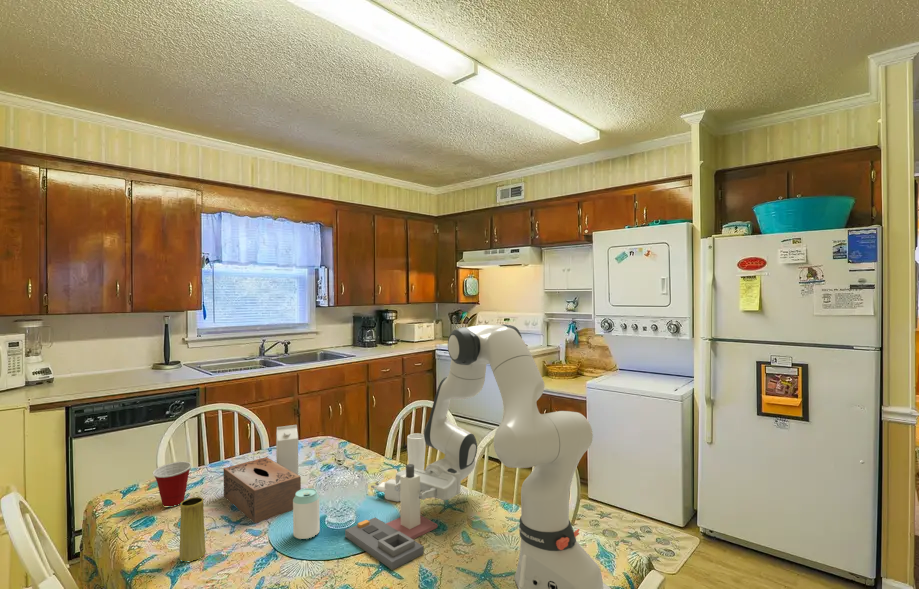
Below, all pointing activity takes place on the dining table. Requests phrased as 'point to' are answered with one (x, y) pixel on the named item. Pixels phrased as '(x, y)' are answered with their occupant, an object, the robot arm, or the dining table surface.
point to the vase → (192, 529)
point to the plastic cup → (172, 482)
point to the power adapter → (389, 490)
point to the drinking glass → (416, 450)
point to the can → (306, 514)
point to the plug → (410, 498)
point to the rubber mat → (416, 531)
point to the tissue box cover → (261, 488)
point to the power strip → (384, 542)
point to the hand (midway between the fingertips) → (408, 492)
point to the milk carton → (287, 447)
